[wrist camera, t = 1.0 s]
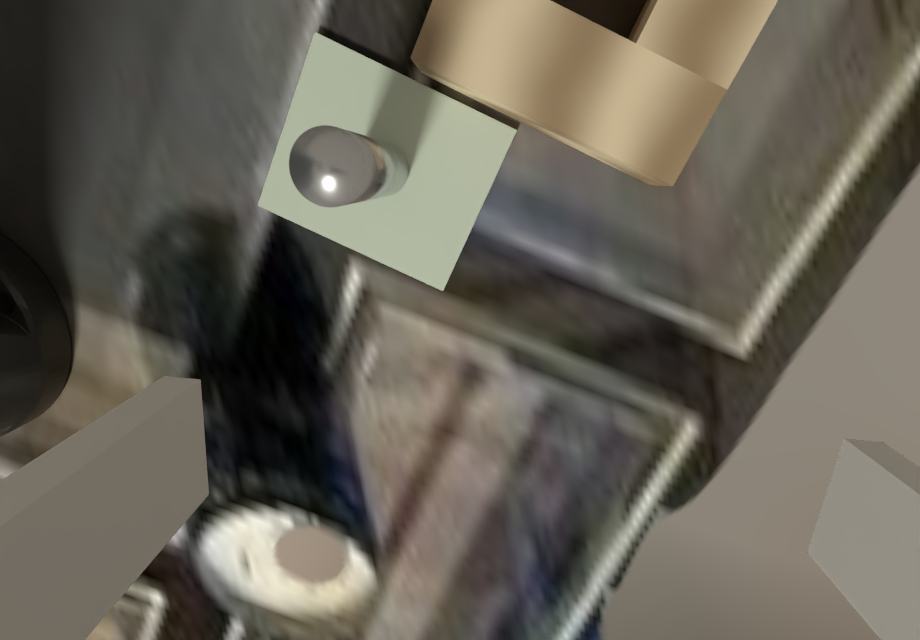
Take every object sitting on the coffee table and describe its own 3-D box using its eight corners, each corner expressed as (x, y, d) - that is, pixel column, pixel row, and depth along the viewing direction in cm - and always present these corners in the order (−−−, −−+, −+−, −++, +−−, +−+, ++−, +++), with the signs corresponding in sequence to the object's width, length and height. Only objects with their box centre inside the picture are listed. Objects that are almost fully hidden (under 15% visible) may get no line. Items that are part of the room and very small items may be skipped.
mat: (260, 205, 30) (257, 205, 30) (317, 33, 28) (314, 31, 27) (443, 289, 31) (442, 291, 31) (516, 130, 28) (517, 130, 28)
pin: (349, 182, 29) (278, 187, 20) (368, 132, 29) (303, 111, 19) (396, 205, 30) (349, 220, 20) (417, 155, 29) (377, 146, 19)
